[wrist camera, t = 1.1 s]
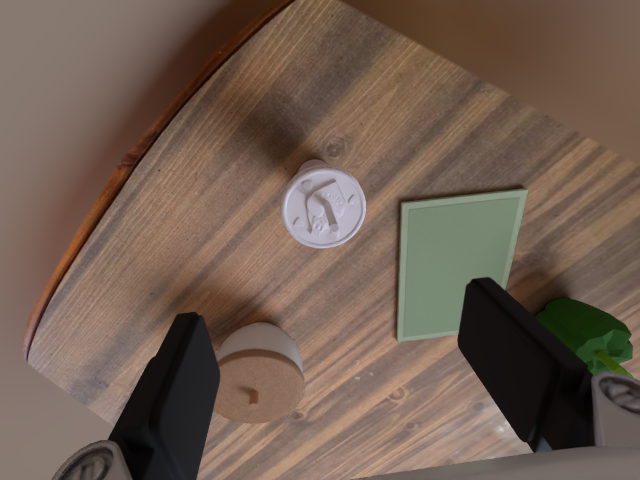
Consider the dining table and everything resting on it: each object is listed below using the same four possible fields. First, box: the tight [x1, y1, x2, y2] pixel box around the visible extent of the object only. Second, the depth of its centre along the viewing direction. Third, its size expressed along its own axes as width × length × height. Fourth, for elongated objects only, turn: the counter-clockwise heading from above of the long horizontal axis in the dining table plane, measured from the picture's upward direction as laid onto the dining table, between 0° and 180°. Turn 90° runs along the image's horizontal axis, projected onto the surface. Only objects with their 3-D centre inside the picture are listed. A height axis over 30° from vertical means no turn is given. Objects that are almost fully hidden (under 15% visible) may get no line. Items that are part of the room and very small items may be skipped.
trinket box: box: [213, 322, 305, 424], centre depth 36 cm, size 11×11×9 cm
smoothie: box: [281, 159, 366, 248], centre depth 25 cm, size 6×6×14 cm
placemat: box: [396, 188, 528, 342], centre depth 37 cm, size 20×14×1 cm
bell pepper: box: [535, 298, 633, 378], centre depth 38 cm, size 8×8×10 cm
